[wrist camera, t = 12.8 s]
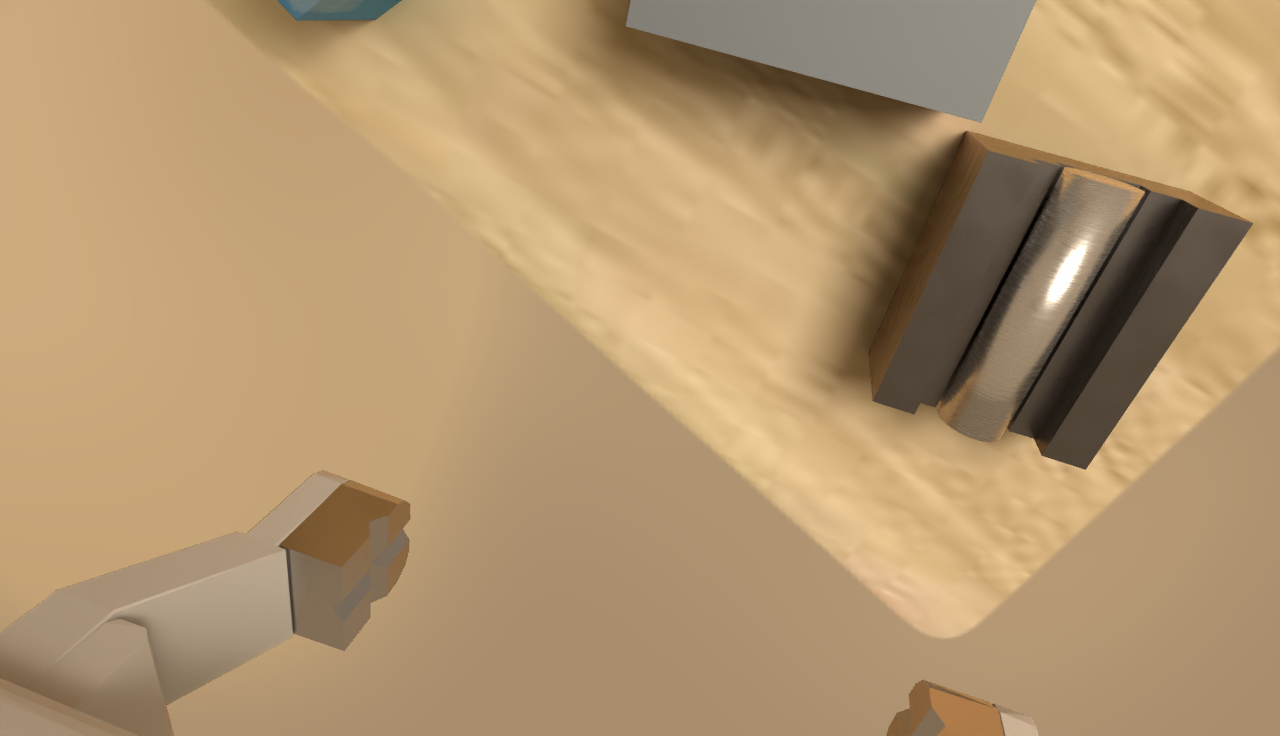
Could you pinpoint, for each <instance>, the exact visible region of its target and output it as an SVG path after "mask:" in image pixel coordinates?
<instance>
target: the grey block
mask: <svg viewBox="0 0 1280 736" xmlns="http://www.w3.org/2000/svg"><path fill="white" fill-rule="evenodd" d="M1035 2H1036V0H631V1H630V6H629V11H628V16H627V21H626V27H630V28H634V29H637V30H641V31H645V32H648V33H652V34H656V35H659V36H663V37H667V38H670V39H674V40H678V41H682V42H685V43H689V44H693V45H696V46H700V47H704V48H707V49H711V50H715V51H718V52H722V53H726V54H729V55H733V56H737V57H741V58H744V59H748V60H752V61H755V62H759V63H763V64H766V65H770V66H774V67H777V68H781V69H785V70H788V71H792V72H796V73H800V74H803V75H807V76H811V77H814V78H818V79H822V80H825V81H829V82H833V83H836V84H840V85H844V86H847V87H851V88H855V89H859V90H862V91H866V92H870V93H873V94H877V95H881V96H884V97H888V98H892V99H895V100H899V101H903V102H907V103H910V104H914V105H918V106H921V107H925V108H929V109H932V110H936V111H940V112H943V113H947V114H951V115H954V116H958V117H962V118H966V119H969V120H973V121H977V122H980V123H981V122H982V120H983V118H984V116H985V113H986V111H987V109H988V107H989V105H990V102H991V100H992V98H993V96H994V93H995V91H996V89H997V87H998V85H999V82H1000V80H1001V78H1002V76H1003V73H1004V71H1005V69H1006V67H1007V64H1008V62H1009V60H1010V58H1011V56H1012V53H1013V51H1014V49H1015V47H1016V44H1017V42H1018V40H1019V38H1020V35H1021V33H1022V31H1023V29H1024V27H1025V24H1026V22H1027V20H1028V18H1029V15H1030V13H1031V11H1032V9H1033V7H1034V4H1035Z"/></svg>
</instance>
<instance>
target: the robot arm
mask: <svg viewBox="0 0 1280 736" xmlns="http://www.w3.org/2000/svg"><path fill="white" fill-rule="evenodd" d="M409 520H410V504H409V503H408V502H406V501H404V500H402V499H399V498H397V497H394V496H391V495H389V494H386V493H383V492H381V491H378V490H375V489H373V488H370V487H367V486H365V485H362V484H360V483H357V482H354V481H352V480H348V479H345V478H342V477H340V476H337V475H334V474H332V473H329V472H326V471H320V472H318V473H315V474H313V475H311V476H310V477H309V478H308V479H307V480H306V481H305V482H304V483H302V484H301V485H300V486H299V487H298V488H297V489H296V490H294V491H293V492H292V493H291V494H290V495H289V496H288V497H287V498H286V499H284V500H283V501H282V502H281V503H280V504H279V505H278V506H277V507H276V508H275V509H273V510H272V511H271V512H270V513H269V514H268V515H267V516H265V517H264V518H263V519H262V520H261V521H260V522H259V523H258V524H257V525H256V526H254V527H253V528H252V529H251V530H250V531H249V532H248V533H247V534H242V533H240V532H234V533H231V534H228V535H225V536H222V537H219V538H216V539H212V540H209V541H206V542H203V543H200V544H197V545H194V546H191V547H188V548H185V549H182V550H179V551H175V552H172V553H169V554H166V555H163V556H160V557H157V558H154V559H151V560H148V561H144V562H141V563H138V564H135V565H132V566H129V567H126V568H123V569H120V570H117V571H113V572H111V573H107V574H104V575H101V576H98V577H95V578H92V579H89V580H86V581H82V582H79V583H77V584H73V585H70V586H67V587H64V588H61V589H58V590H56V591H55V592H53V593H52V594H50V595H49V596H48V597H46V598H45V599H44V600H42V601H41V602H40V603H38V604H37V605H36V606H34V607H33V608H32V609H31V610H29V611H28V612H27V613H25V614H24V615H23V616H21V617H20V618H19V619H17V620H16V621H15V622H13V623H12V624H11V625H9V626H8V627H7V628H6V629H4V630H3V631H1V632H0V736H174V734H173V730H172V726H171V722H170V718H169V714H168V710H167V707H166V705H168V704H170V703H172V702H174V701H175V700H177V699H179V698H181V697H183V696H185V695H186V694H188V693H190V692H192V691H194V690H196V689H198V688H199V687H201V686H203V685H205V684H206V683H209V682H210V681H212V680H214V679H216V678H218V677H220V676H222V675H223V674H225V673H227V672H229V671H231V670H233V669H235V668H236V667H238V666H240V665H242V664H243V663H246V662H247V661H249V660H251V659H253V658H255V657H257V656H258V655H260V654H262V653H264V652H266V651H268V650H270V649H271V648H273V647H275V646H277V645H279V644H281V643H283V642H284V641H286V640H288V639H290V638H292V637H293V633H294V634H297V635H300V636H303V637H306V638H309V639H311V640H314V641H317V642H320V643H323V644H326V645H329V646H332V647H334V648H337V649H340V650H343V651H345V649H346V648H347V647H348V646H349V644H350V643H351V642H352V641H353V639H354V638H355V637H356V635H357V634H358V633H359V631H360V630H361V629H362V627H363V626H364V625H365V624H366V622H367V621H368V620H369V618H370V603H371V602H374V601H376V600H378V599H380V598H383V597H385V596H387V595H388V593H389V592H390V591H391V589H392V588H393V586H394V585H395V584H396V582H397V581H398V579H399V576H400V575H401V572H402V570H403V568H404V566H405V564H406V560H407V556H408V552H409V538H408V537H407V535H406V534H405V532H404V530H403V527H404V526H405V525H406V524H407V523H408V521H409ZM909 702H910V708H909V709H907V710H904V711H901V712H898V713H897V714H896V715H895V717H894V719H893V721H892V723H891V724H890V726H889V728H888V732H887V736H1039V735H1038V731H1037V728H1036V724H1035V722H1034V721H1033V720H1032V718H1031V717H1030V716H1028V715H1025V714H1022V713H1019V712H1016V711H1013V710H1011V709H1008V708H1005V707H1002V706H999V705H996V704H991V703H990V702H988V701H985V700H982V699H979V698H976V697H973V696H970V695H967V694H964V693H961V692H958V691H955V690H952V689H949V688H946V687H943V686H940V685H937V684H934V683H931V682H928V681H925V680H921V681H920V682H918V683H916V684H915V686H914V687H913V689H912V690H911V692H910V693H909Z"/></svg>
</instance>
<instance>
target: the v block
mask: <svg viewBox="0 0 1280 736" xmlns="http://www.w3.org/2000/svg"><path fill="white" fill-rule="evenodd" d="M1065 167H1070V168H1076V169H1080V170H1084V171H1088V172H1092V173H1096V174H1099V175H1103V176H1106V177H1109V178H1112V179H1115V180H1118V181H1121V182H1124V183H1127V184H1129V185H1132V186H1134V187H1137V188H1139V189H1141V190H1143V191H1144V192H1145V193H1144V195H1143V197H1142V198H1141V200H1140V202H1139V203H1138V205H1137V207H1136V209H1135V210H1134V212H1133V214H1132V215H1131V217H1130V219H1129V220H1128V222H1127V224H1126V226H1125V227H1124V229H1123V231H1122V232H1121V234H1120V236H1119V237H1118V239H1117V241H1116V243H1115V244H1114V246H1113V248H1112V249H1111V251H1110V253H1109V255H1108V256H1107V258H1106V260H1105V261H1104V263H1103V265H1102V266H1101V268H1100V270H1099V272H1098V273H1097V275H1096V277H1095V278H1094V280H1093V282H1092V283H1091V285H1090V287H1089V289H1088V290H1087V292H1086V294H1085V295H1084V297H1083V299H1082V300H1081V302H1080V304H1079V306H1078V307H1077V309H1076V311H1075V312H1074V314H1073V316H1072V317H1071V319H1070V321H1069V323H1068V324H1067V326H1066V328H1065V329H1064V331H1063V333H1062V335H1061V336H1060V338H1059V340H1058V341H1057V343H1056V345H1055V346H1054V348H1053V350H1052V352H1051V353H1050V355H1049V357H1048V358H1047V360H1046V362H1045V363H1044V365H1043V367H1042V369H1041V370H1040V372H1039V374H1038V375H1037V377H1036V379H1035V380H1034V382H1033V384H1032V386H1031V387H1030V389H1029V391H1028V392H1027V394H1026V396H1025V397H1024V399H1023V401H1022V403H1021V404H1020V406H1019V408H1018V409H1017V411H1016V413H1015V415H1014V416H1013V418H1012V420H1011V421H1010V423H1009V425H1008V426H1007V427H1008V429H1009V431H1011V432H1015V433H1018V434H1021V435H1024V436H1027V437H1030V438H1033V439H1034V440H1035V442H1036V444H1037V446H1038V448H1039V450H1040V453H1041V455H1042V456H1045V457H1048V458H1051V459H1054V460H1057V461H1060V462H1063V463H1066V464H1070V465H1073V466H1076V467H1079V468H1082V469H1085V470H1086V468H1087V467H1088V465H1089V464H1090V463H1091V461H1092V460H1093V458H1094V457H1095V455H1096V454H1097V452H1098V451H1099V449H1100V448H1101V446H1102V445H1103V443H1104V442H1105V440H1106V439H1107V438H1108V436H1109V435H1110V433H1111V432H1112V430H1113V429H1114V427H1115V426H1116V424H1117V423H1118V421H1119V420H1120V418H1121V417H1122V415H1123V414H1124V413H1125V411H1126V410H1127V408H1128V407H1129V405H1130V404H1131V402H1132V401H1133V399H1134V398H1135V396H1136V395H1137V393H1138V392H1139V390H1140V389H1141V388H1142V386H1143V385H1144V383H1145V382H1146V380H1147V379H1148V377H1149V376H1150V374H1151V373H1152V371H1153V370H1154V368H1155V367H1156V366H1157V364H1158V363H1159V361H1160V360H1161V358H1162V357H1163V355H1164V354H1165V352H1166V351H1167V349H1168V348H1169V346H1170V345H1171V343H1172V342H1173V341H1174V339H1175V338H1176V336H1177V335H1178V333H1179V332H1180V330H1181V329H1182V327H1183V326H1184V324H1185V323H1186V321H1187V320H1188V318H1189V317H1190V316H1191V314H1192V313H1193V311H1194V310H1195V308H1196V307H1197V305H1198V304H1199V302H1200V301H1201V299H1202V298H1203V296H1204V295H1205V293H1206V292H1207V291H1208V289H1209V288H1210V286H1211V285H1212V283H1213V282H1214V280H1215V279H1216V277H1217V276H1218V274H1219V273H1220V271H1221V270H1222V268H1223V267H1224V266H1225V264H1226V263H1227V261H1228V260H1229V258H1230V257H1231V255H1232V254H1233V252H1234V251H1235V249H1236V248H1237V246H1238V245H1239V244H1240V242H1241V241H1242V239H1243V238H1244V236H1245V235H1246V233H1247V232H1248V230H1249V229H1250V227H1251V226H1252V224H1253V223H1252V222H1250V221H1248V220H1246V219H1244V218H1242V217H1240V216H1238V215H1236V214H1234V213H1232V212H1230V211H1228V210H1226V209H1224V208H1222V207H1220V206H1218V205H1216V204H1214V203H1212V202H1210V201H1208V200H1206V199H1204V198H1202V197H1200V196H1198V195H1196V194H1194V193H1192V192H1189V191H1185V190H1182V189H1178V188H1174V187H1171V186H1167V185H1163V184H1160V183H1156V182H1153V181H1149V180H1145V179H1142V178H1138V177H1134V176H1131V175H1127V174H1123V173H1120V172H1116V171H1112V170H1109V169H1105V168H1101V167H1098V166H1094V165H1090V164H1087V163H1083V162H1079V161H1076V160H1072V159H1068V158H1065V157H1061V156H1057V155H1054V154H1050V153H1046V152H1043V151H1039V150H1035V149H1032V148H1028V147H1024V146H1021V145H1017V144H1013V143H1010V142H1006V141H1002V140H999V139H995V138H991V137H988V136H984V135H980V134H977V133H973V132H969V131H967V132H966V134H965V136H964V138H963V141H962V143H961V145H960V147H959V150H958V152H957V154H956V156H955V159H954V161H953V163H952V166H951V168H950V170H949V172H948V175H947V177H946V179H945V181H944V184H943V186H942V188H941V190H940V193H939V195H938V197H937V200H936V202H935V204H934V206H933V209H932V211H931V213H930V215H929V218H928V220H927V222H926V224H925V227H924V229H923V231H922V234H921V236H920V238H919V240H918V243H917V245H916V247H915V249H914V252H913V254H912V256H911V258H910V261H909V263H908V265H907V268H906V270H905V272H904V274H903V277H902V279H901V281H900V283H899V286H898V288H897V290H896V292H895V295H894V297H893V299H892V302H891V304H890V306H889V308H888V311H887V313H886V315H885V317H884V320H883V322H882V324H881V326H880V329H879V331H878V333H877V336H876V338H875V340H874V342H873V345H872V347H871V349H870V351H869V363H870V375H871V387H872V399H873V401H874V402H877V403H880V404H883V405H886V406H890V407H893V408H896V409H899V410H902V411H905V412H908V413H911V414H915V412H916V410H917V408H918V406H919V404H920V402H921V403H924V404H927V405H930V406H933V407H936V405H937V403H938V401H939V400H942V401H943V400H944V398H945V396H946V394H947V392H948V390H949V388H950V386H951V385H952V383H953V381H954V379H955V377H956V375H957V373H958V371H959V369H960V367H961V365H962V363H963V361H964V360H965V358H966V356H967V354H968V352H969V350H970V348H971V346H972V344H973V342H974V340H975V338H976V337H977V335H978V333H979V331H980V329H981V327H982V325H983V323H984V321H985V319H986V317H987V315H988V313H989V312H990V310H991V308H992V306H993V304H994V302H995V300H996V298H997V296H998V294H999V292H1000V290H1001V288H1002V287H1003V285H1004V283H1005V281H1006V279H1007V277H1008V275H1009V273H1010V271H1011V269H1012V267H1013V265H1014V264H1015V262H1016V260H1017V258H1018V256H1019V254H1020V252H1021V250H1022V248H1023V246H1024V244H1025V242H1026V240H1027V239H1028V237H1029V235H1030V233H1031V231H1032V229H1033V227H1034V225H1035V223H1036V221H1037V219H1038V217H1039V216H1040V214H1041V212H1042V210H1043V208H1044V206H1045V204H1046V202H1047V200H1048V198H1049V196H1050V194H1051V192H1052V191H1053V189H1054V187H1055V185H1056V183H1057V181H1058V179H1059V177H1060V175H1061V173H1062V171H1063V169H1064V168H1065Z"/></svg>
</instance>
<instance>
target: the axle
mask: <svg viewBox="0 0 1280 736" xmlns="http://www.w3.org/2000/svg"><path fill="white" fill-rule="evenodd" d="M1144 193H1145V192H1144V191H1143V190H1141V189H1139V188H1137V187H1134V186H1132V185H1129V184H1127V183H1124V182H1121V181H1118V180H1115V179H1112V178H1109V177H1106V176H1103V175H1099V174H1096V173H1092V172H1088V171H1084V170H1080V169H1076V168H1070V167H1065V168H1064V169H1063V171H1062V173H1061V175H1060V177H1059V179H1058V181H1057V183H1056V185H1055V187H1054V189H1053V191H1052V192H1051V194H1050V196H1049V198H1048V200H1047V202H1046V204H1045V206H1044V208H1043V210H1042V212H1041V214H1040V216H1039V217H1038V219H1037V221H1036V223H1035V225H1034V227H1033V229H1032V231H1031V233H1030V235H1029V237H1028V239H1027V240H1026V242H1025V244H1024V246H1023V248H1022V250H1021V252H1020V254H1019V256H1018V258H1017V260H1016V262H1015V264H1014V265H1013V267H1012V269H1011V271H1010V273H1009V275H1008V277H1007V279H1006V281H1005V283H1004V285H1003V287H1002V288H1001V290H1000V292H999V294H998V296H997V298H996V300H995V302H994V304H993V306H992V308H991V310H990V312H989V313H988V315H987V317H986V319H985V321H984V323H983V325H982V327H981V329H980V331H979V333H978V335H977V337H976V338H975V340H974V342H973V344H972V346H971V348H970V350H969V352H968V354H967V356H966V358H965V360H964V361H963V363H962V365H961V367H960V369H959V371H958V373H957V375H956V377H955V379H954V381H953V383H952V385H951V386H950V388H949V390H948V392H947V394H946V396H945V398H944V400H943V402H942V404H941V406H940V408H939V410H938V413H939V415H940V417H941V419H942V420H943V421H944V422H945V423H946V424H947V425H949V426H950V427H951V428H953V429H954V430H956V431H958V432H959V433H961V434H963V435H965V436H968V437H970V438H973V439H976V440H980V441H985V442H995V441H998V440H1000V438H1001V437H1002V435H1003V433H1004V432H1005V430H1006V428H1007V426H1008V425H1009V423H1010V421H1011V420H1012V418H1013V416H1014V415H1015V413H1016V411H1017V409H1018V408H1019V406H1020V404H1021V403H1022V401H1023V399H1024V397H1025V396H1026V394H1027V392H1028V391H1029V389H1030V387H1031V386H1032V384H1033V382H1034V380H1035V379H1036V377H1037V375H1038V374H1039V372H1040V370H1041V369H1042V367H1043V365H1044V363H1045V362H1046V360H1047V358H1048V357H1049V355H1050V353H1051V352H1052V350H1053V348H1054V346H1055V345H1056V343H1057V341H1058V340H1059V338H1060V336H1061V335H1062V333H1063V331H1064V329H1065V328H1066V326H1067V324H1068V323H1069V321H1070V319H1071V317H1072V316H1073V314H1074V312H1075V311H1076V309H1077V307H1078V306H1079V304H1080V302H1081V300H1082V299H1083V297H1084V295H1085V294H1086V292H1087V290H1088V289H1089V287H1090V285H1091V283H1092V282H1093V280H1094V278H1095V277H1096V275H1097V273H1098V272H1099V270H1100V268H1101V266H1102V265H1103V263H1104V261H1105V260H1106V258H1107V256H1108V255H1109V253H1110V251H1111V249H1112V248H1113V246H1114V244H1115V243H1116V241H1117V239H1118V237H1119V236H1120V234H1121V232H1122V231H1123V229H1124V227H1125V226H1126V224H1127V222H1128V220H1129V219H1130V217H1131V215H1132V214H1133V212H1134V210H1135V209H1136V207H1137V205H1138V203H1139V202H1140V200H1141V198H1142V197H1143V195H1144Z"/></svg>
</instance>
